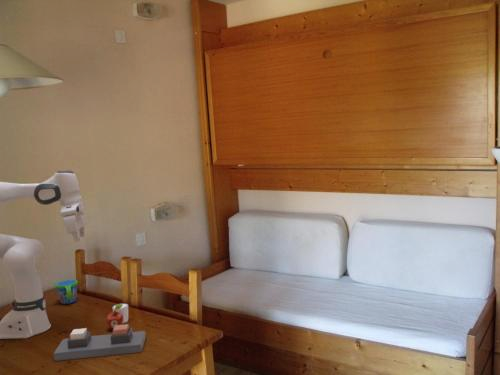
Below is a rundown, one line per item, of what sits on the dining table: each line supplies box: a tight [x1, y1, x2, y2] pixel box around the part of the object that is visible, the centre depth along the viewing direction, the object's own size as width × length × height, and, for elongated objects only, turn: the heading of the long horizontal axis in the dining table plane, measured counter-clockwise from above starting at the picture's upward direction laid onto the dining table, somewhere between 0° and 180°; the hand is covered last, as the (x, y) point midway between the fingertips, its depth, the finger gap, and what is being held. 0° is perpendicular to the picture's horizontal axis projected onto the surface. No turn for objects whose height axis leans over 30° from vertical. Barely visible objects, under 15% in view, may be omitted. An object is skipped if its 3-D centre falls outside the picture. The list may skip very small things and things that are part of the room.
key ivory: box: [69, 327, 88, 340], centre depth 192 cm, size 5×5×3 cm
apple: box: [105, 303, 123, 330], centre depth 213 cm, size 8×7×10 cm
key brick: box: [112, 323, 130, 336], centre depth 193 cm, size 5×5×3 cm
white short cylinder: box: [111, 303, 129, 324], centre depth 221 cm, size 7×7×7 cm
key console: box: [53, 327, 147, 362], centre depth 193 cm, size 32×13×6 cm, turn 95°
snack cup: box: [54, 279, 79, 305], centre depth 252 cm, size 16×10×10 cm
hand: (80, 238), depth 214 cm, fingers open, 8 cm apart
